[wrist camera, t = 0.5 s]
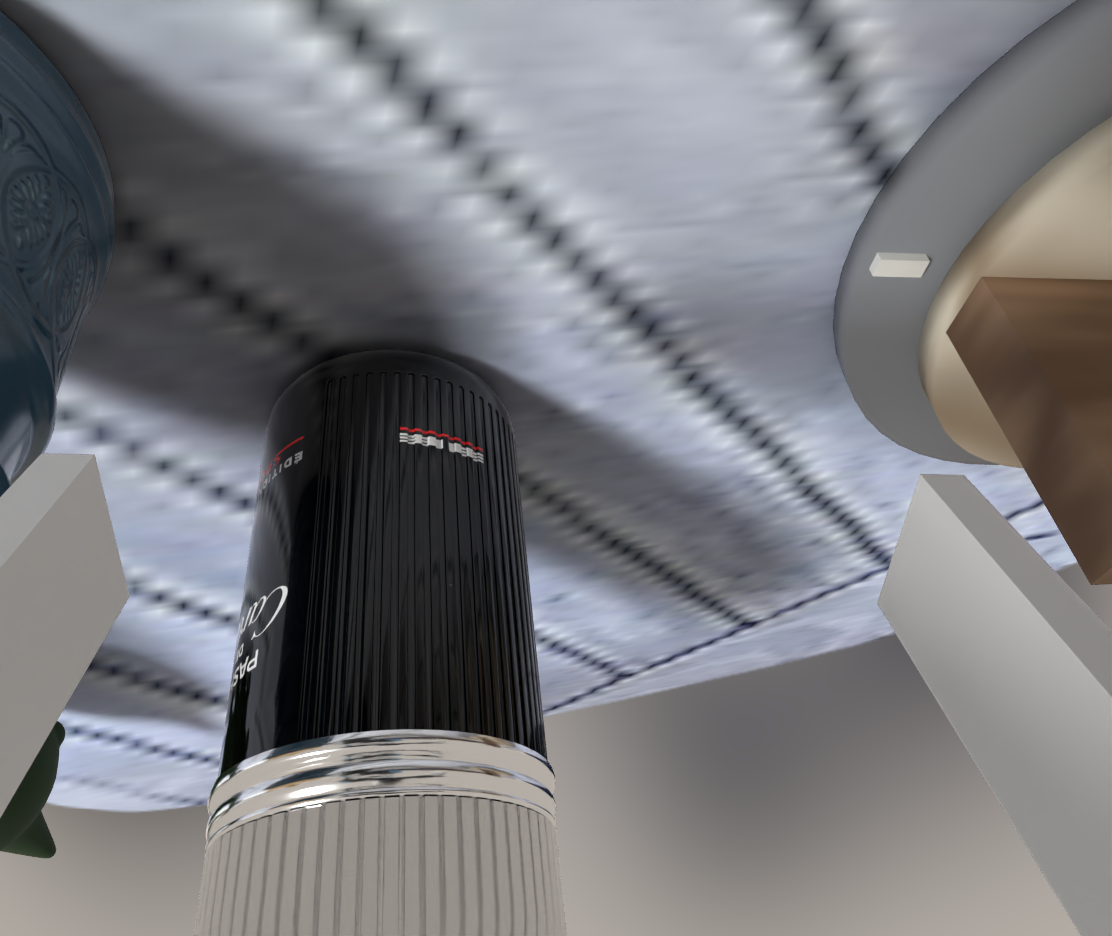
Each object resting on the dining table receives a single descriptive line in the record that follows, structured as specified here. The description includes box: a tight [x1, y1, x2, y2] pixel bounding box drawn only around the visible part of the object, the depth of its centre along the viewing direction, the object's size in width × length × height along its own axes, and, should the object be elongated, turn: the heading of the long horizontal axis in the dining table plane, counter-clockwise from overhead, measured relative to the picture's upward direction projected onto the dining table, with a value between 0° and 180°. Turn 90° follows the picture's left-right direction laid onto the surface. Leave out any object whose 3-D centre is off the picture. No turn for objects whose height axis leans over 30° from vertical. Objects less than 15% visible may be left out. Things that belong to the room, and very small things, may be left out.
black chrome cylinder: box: [194, 350, 566, 936], centre depth 27 cm, size 10×10×25 cm
